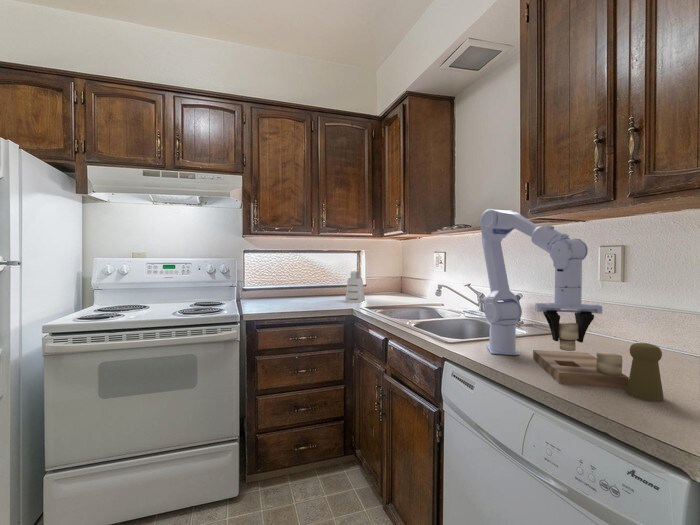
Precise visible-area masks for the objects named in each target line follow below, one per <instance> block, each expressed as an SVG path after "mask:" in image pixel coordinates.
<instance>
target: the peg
mask: <svg viewBox="0 0 700 525" xmlns="http://www.w3.org/2000/svg"><path fill="white" fill-rule="evenodd" d="M576 339H579V332H578V324H577V323H576V322H572V321H559V341H558V342H559V350H561V351H564V352H575V351H576V349H577V348H576V342H577V341H576Z"/></svg>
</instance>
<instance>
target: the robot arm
mask: <svg viewBox="0 0 700 525" xmlns="http://www.w3.org/2000/svg"><path fill="white" fill-rule="evenodd" d="M479 226H480V232H481V241H482V242H481V244H482V249H483V255H484V260H485V266H486V273H487V277H488V284H489V290H490V293H489V294H488V295H487V296H486V298H484V304H485V305H484V316H485V318H486V320H487V321H488V323H490V324H489V325H490V326H489V335H488V336H489V341H488V342H489V344H486V345H485V346H486V348H487V349H488V351H489V352H490V354H492V355H507V356H508V355H509V356H520V355H521V354H520V353H519V351H517V350H516V343H517V342H516V340H517V338H516V337H517V336H516V333H517V332H516V331H517V327H516V326H517V324H518V322H519V320H520V319H521V318H522V314H523V310H522V306H521V304H520V303H519V301H518V296H517V295H516V294H515V293H513V292H512V291H511V290H510V286H509V280H508V276H507V274H508V273H507V270H506V264H505V259H504V253H503V249H502V248H503V247H502V241H503V239H505V238H506V237H508V235H510V234H511V233H512V232H513V231H514V229H515V230H517V231H518V232H521V233H523V234H524V235H527V236H529V237H530V238H531V242H532V243H533V245H535V246H537V247H538V248H540V249H542V250H543V251H545V252H546V253H548V254H549V256H550V258H551V260H552V261H553V263H552V264H553V268H554V302H545V303H543V302H541V303H540V302H539V303H538V302H535V303H534V311H535V312H538V313H542V314H543V316H544V318H545V320H546V321H547V324H548V326H549V329H550V332H551V338H552V340H553V341H555V342H560V341H559V322H561V321H560V320H561V315H560V314H559V313H574V318H575V323H577V324H578V332H579V339H576V341H575V342H578V343H584V338H585V336H586V333H587V330H588V328H589V326H590V325H591V323H592V321H593V320H594V318H595V314H597V315H598V314H599V315H601V314H603V305H600V304H587V303H582V291H583V290H582V288H583V283H582V282H583V277H582V276H583V260H585V259H586V257H587V255H588V252H589V251H588V250H589V248H588V245H587V243H586V242H584V241H583V240H582V239H580V238H570V237H569V234H567V233H561V232H560V231H557V230H556V229H555V226H553V225H551V224H550V225H549V224H548V225H545V224H544V225H541V226H539V225H537V224H536V223H534V222H532V221H531V220H529V219H528V218H527V217H525V216H523V215H522V214H521V213H520V212H516V211H515V210H513V209H511V210H510V209H509V210H506V209H505V210H501V209H493V208H487V209H486V210H484V211H483V213H482V215H481V216H480V218H479Z"/></svg>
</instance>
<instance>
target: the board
mask: <svg viewBox="0 0 700 525" xmlns="http://www.w3.org/2000/svg"><path fill="white" fill-rule="evenodd" d="M532 359H533V360H534V361H535V362H536V363H537V364H538V365H540V367H541V366H542V367H543V368H544V369H543V368H542V367H541V368H542V369H543V370H545V372H547V374H548V375H550V376H551V377H552V378H553V379H554V380H555V379H556V380H557V381H558V382H559V383H558V382H557V381H556V380H555V381H556V382H557V383H558V384H562V383H567V384H566V385H576V384H577V385H578V386H589V385H592V386H593V387H607V388H619V389H627V387H628V381H629V376H628V375H626V374H624V373H623V356H622V355H621V354H618V353H612V352H607V351H599V352H597V353H596V356H594V355H592V354H590V353H588V352H578V351H577V352H575V351H557V350H540V349H539V350H538V349H537V350H535V349H533V351H532Z"/></svg>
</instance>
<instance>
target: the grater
mask: <svg viewBox="0 0 700 525" xmlns="http://www.w3.org/2000/svg"><path fill="white" fill-rule="evenodd" d="M363 282H364V280H363V278H362V277H360V271H357V270H356V271H355V270H354V271H350V277H348V278H347V283H346V290H345V298H344V299H345V300H344V304H353V303H361V302H363V301H365V302H366V299H365V291H364V290H365V289H364V283H363ZM361 304H362V303H361Z"/></svg>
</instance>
